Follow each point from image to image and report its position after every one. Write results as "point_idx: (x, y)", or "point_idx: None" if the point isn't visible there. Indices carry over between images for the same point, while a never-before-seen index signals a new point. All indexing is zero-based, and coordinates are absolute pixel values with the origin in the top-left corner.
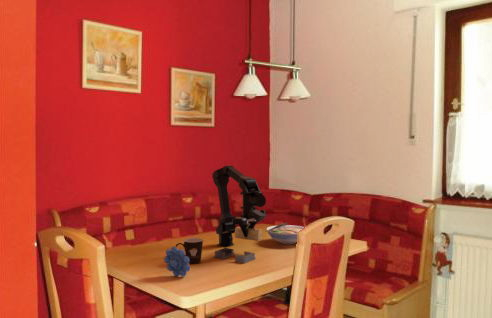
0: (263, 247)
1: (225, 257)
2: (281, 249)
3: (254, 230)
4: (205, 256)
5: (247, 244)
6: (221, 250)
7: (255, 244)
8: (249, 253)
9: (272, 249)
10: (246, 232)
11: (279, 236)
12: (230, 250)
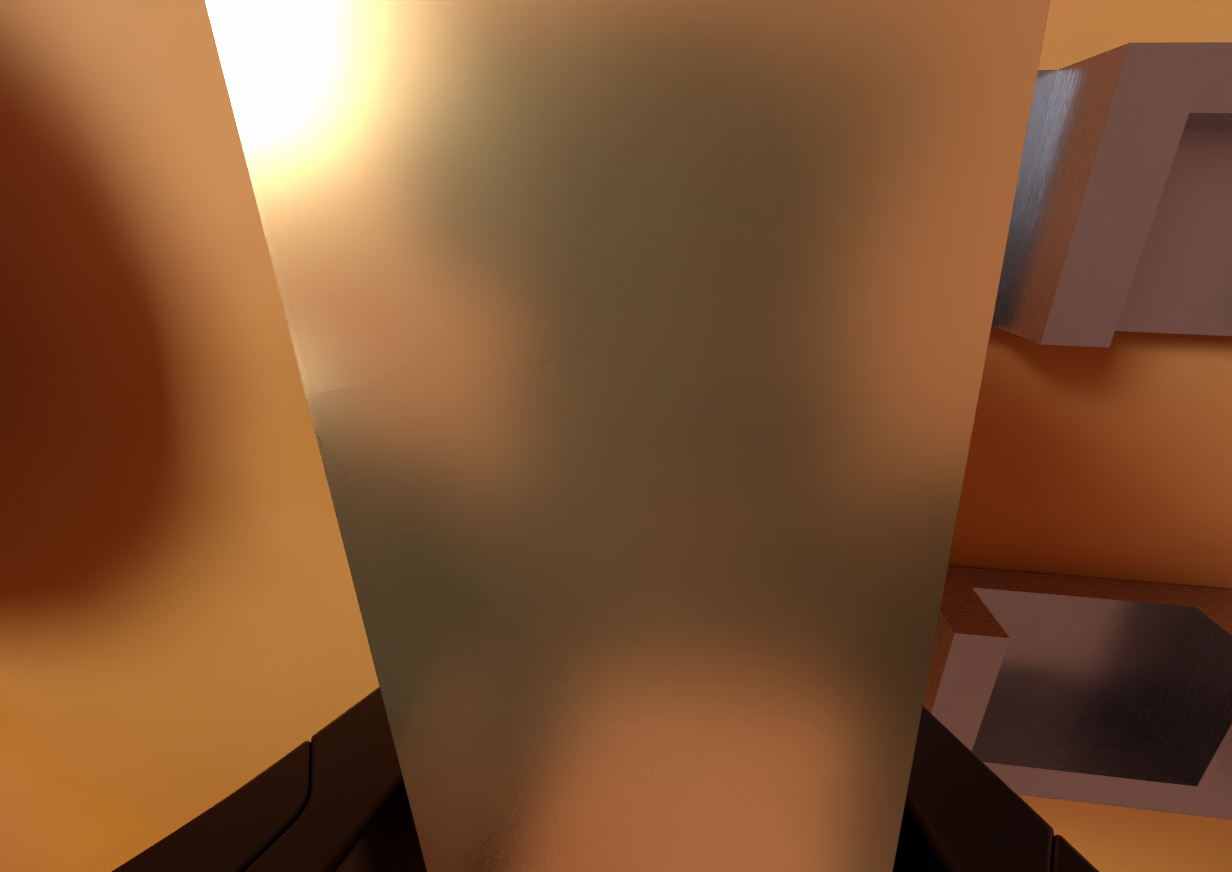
0: (196, 412)
1: (1162, 592)
2: (37, 41)
3: (952, 438)
4: (1127, 835)
5: (248, 674)
6: (1083, 763)
7: (164, 591)
8: (1150, 182)
9: (172, 205)
10: (985, 768)
11: None
12: (991, 654)
